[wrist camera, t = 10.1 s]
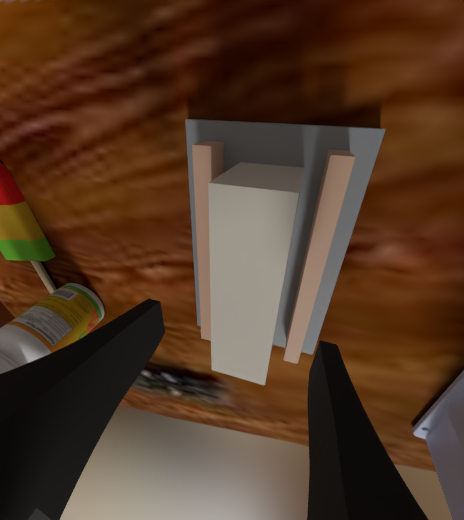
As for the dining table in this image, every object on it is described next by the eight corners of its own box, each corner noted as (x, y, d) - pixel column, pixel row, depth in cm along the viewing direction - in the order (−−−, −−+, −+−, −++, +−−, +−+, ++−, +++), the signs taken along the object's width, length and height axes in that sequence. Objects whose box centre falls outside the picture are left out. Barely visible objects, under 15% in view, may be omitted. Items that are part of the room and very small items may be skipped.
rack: (312, 345, 20) (312, 376, 18) (201, 317, 22) (187, 342, 20) (380, 128, 12) (397, 131, 9) (193, 119, 14) (166, 120, 12)
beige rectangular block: (275, 327, 19) (264, 385, 15) (233, 317, 20) (211, 369, 16) (304, 167, 13) (299, 193, 9) (240, 162, 14) (208, 182, 9)
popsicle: (7, 156, 20) (-19, 159, 19) (84, 298, 27) (70, 309, 26) (-33, 162, 22) (-60, 166, 20) (49, 294, 29) (34, 304, 28)
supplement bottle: (92, 325, 29) (6, 405, 21) (57, 292, 27) (-50, 365, 19) (114, 310, 26) (25, 397, 18) (76, 273, 25) (-38, 349, 17)
